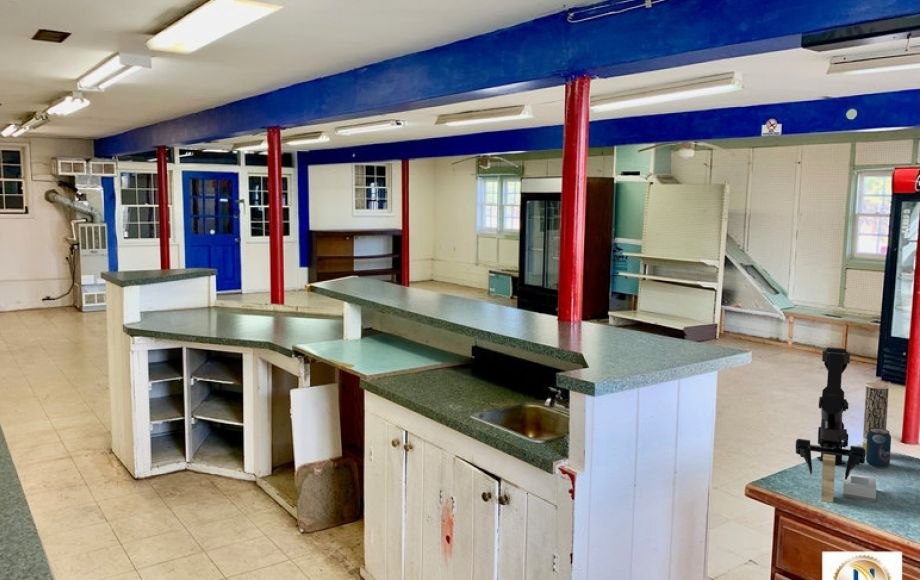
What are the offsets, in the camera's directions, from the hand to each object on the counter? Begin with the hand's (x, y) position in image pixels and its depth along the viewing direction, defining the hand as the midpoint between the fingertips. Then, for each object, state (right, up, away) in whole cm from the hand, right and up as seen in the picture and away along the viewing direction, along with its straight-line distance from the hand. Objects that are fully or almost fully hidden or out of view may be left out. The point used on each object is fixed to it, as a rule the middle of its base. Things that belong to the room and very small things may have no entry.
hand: (828, 476), depth 209 cm
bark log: (+36, -2, +37) cm, 51 cm away
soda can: (+31, -4, +27) cm, 42 cm away
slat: (+1, -7, +2) cm, 7 cm away
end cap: (+12, -6, +5) cm, 15 cm away
